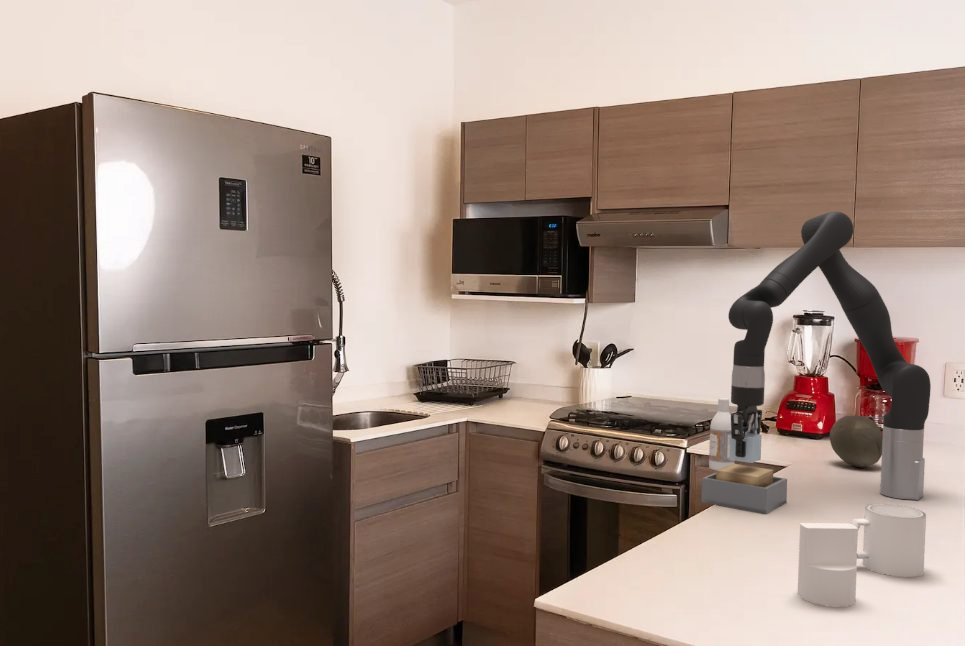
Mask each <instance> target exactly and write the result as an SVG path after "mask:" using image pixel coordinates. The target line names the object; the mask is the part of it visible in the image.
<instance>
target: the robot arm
mask: <svg viewBox="0 0 965 646" xmlns="http://www.w3.org/2000/svg"><path fill="white" fill-rule="evenodd" d="M800 233H801V240H802V242H803V244H804V245H803V246H801V247H800V248H799V249H798V250H796V251H795V252H794V253H792V254H791V255H790V256H789V257H787V258H786V259H784V260H783V261H781V262H780V263H779V264H778V265H777V266H775V267H774V268H773V269H772V270H771V271H770V272H769V273H768V274H767V275H766V276H765V277H764V278H763V280H761V281H760V283H759V284H757V286H755V287H753V288H751V289H750V290H749V291H748V290H747V292H745V293H744V294H743V295H741V296H740V297H738V298H737V299H736V300H735V301H734V302H733V303H732V305H731V306H730V308H729V311H728V314H727V315H728V316H727V317H728V320H729V323H730V324H731V326H732V327H734V328H735V329H738V330H744V331H746V334H745V337H744V339H740V340H738V341H736V342H735V343H734V347H733V358H732V359H733V362H732V363H733V366H732V371H731V386H730V387H731V389H730V391H731V392H730V402H731V403H732V405H736V406H737V408H736V412H735V414H730V415H731V436H732V439H735V440H736V452H735V455H736V456H737V457H745V454H746V438H747V433H752V434H760V435H761V427H762V419H763V418H762V417H763V416H762V415H763V410H762V409H758V407H760V406H763V405H764V403H765V386H766V385H765V382H766V373H765V357H766V356H765V355H766V354H765V353H766V351H765V350H766V346H767V344H768V341H769V338H770V335H771V331H772V328H773V322H774V313H773V310H772V308H776V307H779V306H780V305H782V304H783V303H784V302H785V301H786V300H788V298H789V297H790V296H791V295H792V294H793V293H794V292H795V291H796V289H797V288H798V287H799V286H800V285H801V284H802V283H803V282H804V280H806V278H808V276H810V275H811V274H812V272H814V271H815V270H816V269H817V268H819V269H820V271H821V272H822V274H823V276H824V277H825V279H826V280H827V283H828V284H829V285H830V286H829V287H830V288H831V289H832V292H833V293H834V295H835V297H836V298H837V300H838V303H839V304H840V306H841V309H842V311H843V312H844V314H845V316H846V318H847V321H848V322H849V324H850V326H851V327H852V328H853V330H854V332H855V334H856V336H857V338H858V340H859V342H860V343H861V345H862V347H863V348H864V350H865V351H866V354H867V355H868V358H869V360H870V362H871V365H872V368H873V370H874V372H875V373H874V374H875V375H876V377H877V381H878V383H879V385H880V387H881V389H882V390H883V391H884V392H885V394H887V395H888V396H889V397H891V402H890V409H889V411H888V412H887V413H885V414H884V415H883V417H882V419H883V420H882V435H883V439H882V456H881V461H880V462H881V463H880V464H881V467H880V470H881V471H880V484H879V485H880V490H879V492H880V494H881V495H883V496H885V497H889V498H895V499H900V500H915V501H919V500H920V499H921V498H922V497H924V490H925V488H924V485H925V482H924V481H925V463H926V460H925V458H924V438H925V423H926V420H927V419H928V417H929V412H930V403H931V402H930V401H931V400H930V399H931V379H930V375H929V373H928V371H927V370H926V369H925V368H924V367H922V366H920V365H918V364H913V363H909V362H907V360H906V359H905V358H904V356H903V355H902V352H901V351H900V349H899V347H898V346H897V344H896V342H895V339H894V335H893V331H892V322H891V316H890V312H889V310H888V307H887V306H886V305H887V304H886V303H885V301H884V300H883V298H882V296H881V294H880V292H879V291H878V288H877V287H876V286H875V285H874V284H873V283H872V282H871V281H870V280H869V279H867V278H866V277H865V276H863V275H862V274H861V273H860V272H858V271H857V270H856V269H855V268H853V267H852V265H850V264H849V262H848V261H847V260H846V258H845V257H844V255H843V253H842V251H841V249H842V248H844V247H845V246H846V245H847V244H849V243H850V242H851V239H852V238H853V235H854V224H853V221H852V219H851V218H850V217H849V216H848V215H847V214H846V213H844V212H841V211H829V212H826V213H823V214H819V215H818V216H815V217H812V218H809V219H808V220H806V221H804V223H803V225H802V227H801V231H800ZM735 430H736V432H735ZM743 432H744V434H743Z"/></svg>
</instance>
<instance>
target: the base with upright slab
mask: <svg viewBox="0 0 965 646" xmlns="http://www.w3.org/2000/svg"><path fill="white" fill-rule="evenodd" d="M858 537H859V530H858V528H857V527H856V526H854V525H852V524H851V523H842V522H840V523H838V522H837V523H835V522H832V523H831V522H829V523H828V522H825V523H823V522H817V523H816V522H800V523H799V545H798V546H799V547H798V549H799V551H798V566H797V567H798V569H797V570H798V573H797V595H798V596H800V597H799V598H801V597H802V598H803V599H802V598H801V599H802V600H804V599H805V601H806V600H807V602H808V601H810V602H809V603H811V602H813V604H814V603H816V604H815V605H818V604H821V605H820V606H823V605H828V606H827V607H830V606H846V607H848V606H847V605H851V604H853V605H854V604H855V603H856V594H857V593H856V592H857V569H858V565H857V563H858V562H857V561H858V559H857V552H858V539H859V538H858ZM851 606H852V605H851Z"/></svg>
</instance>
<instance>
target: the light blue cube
mask: <svg viewBox="0 0 965 646" xmlns="http://www.w3.org/2000/svg"><path fill="white" fill-rule="evenodd" d="M743 434H744V432H743ZM735 452H736V440H735V439H732V436H731V435H730V459H729V460H735V461H736V462H741V463H742V462H743V463H748V464H750V463H751V464H753V463H756V462H758V461H761V459H762V434H761V433H760V434H752V433H747V438H746V454H745V457H737V456H736V455H735Z"/></svg>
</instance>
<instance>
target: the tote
mask: <svg viewBox="0 0 965 646" xmlns="http://www.w3.org/2000/svg"><path fill="white" fill-rule="evenodd" d="M716 473H717V471H716V472H713V473H710V474H708V475H707V476H704V477H702V478H701V496H700V497H701V498H700V499H701V501H700V502H701V503H704V504H710V505H716V506H720V507H726V508H732V509H737V510H742V511H747V512H751V513H758V514H764V515H767V514H769V513H770V512H772V511H774V510H776V509H778V508H779V507H782V506H783V505H785V504H787V502H788V501H787V497H788V496H787V495H788V478H787V477H786V478H785V477H777V476H773V484H771V485H769V486H767V487H765V488H764V487H758V486H752V485H746V484H740V483H734V482H728V481H722V480H716Z"/></svg>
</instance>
